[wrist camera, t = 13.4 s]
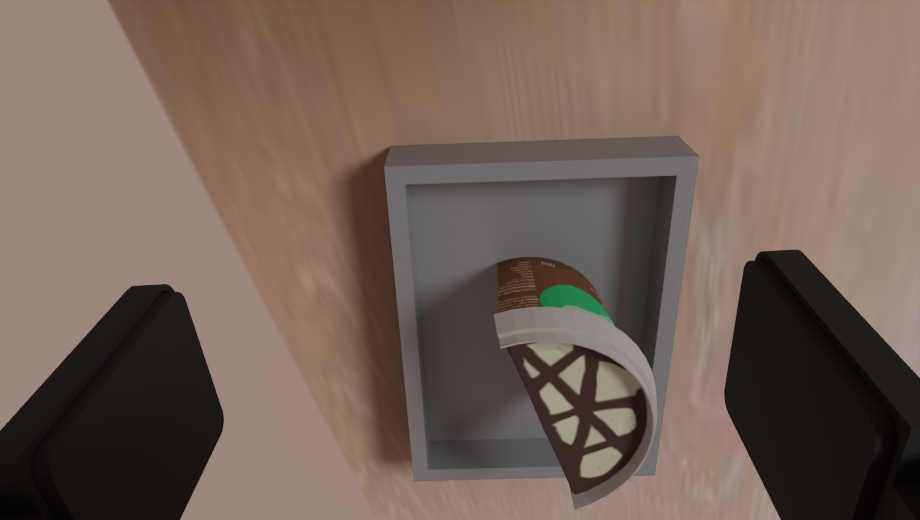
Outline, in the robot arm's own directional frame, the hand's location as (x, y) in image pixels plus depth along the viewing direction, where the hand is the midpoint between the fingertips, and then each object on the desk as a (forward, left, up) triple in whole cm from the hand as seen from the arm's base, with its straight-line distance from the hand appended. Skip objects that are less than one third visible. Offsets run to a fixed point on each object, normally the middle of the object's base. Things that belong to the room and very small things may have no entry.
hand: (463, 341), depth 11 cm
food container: (-6, +15, -25) cm, 30 cm away
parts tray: (-4, +15, -26) cm, 30 cm away
